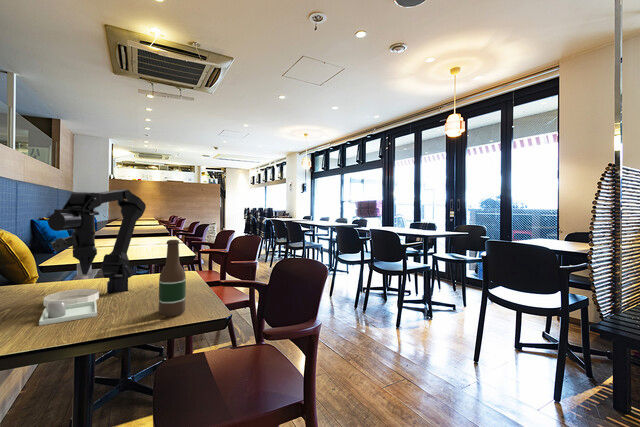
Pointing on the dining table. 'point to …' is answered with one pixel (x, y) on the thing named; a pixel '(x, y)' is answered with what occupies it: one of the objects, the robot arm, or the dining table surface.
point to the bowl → (73, 296)
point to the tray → (71, 313)
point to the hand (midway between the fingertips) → (84, 273)
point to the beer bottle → (172, 283)
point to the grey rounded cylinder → (79, 271)
